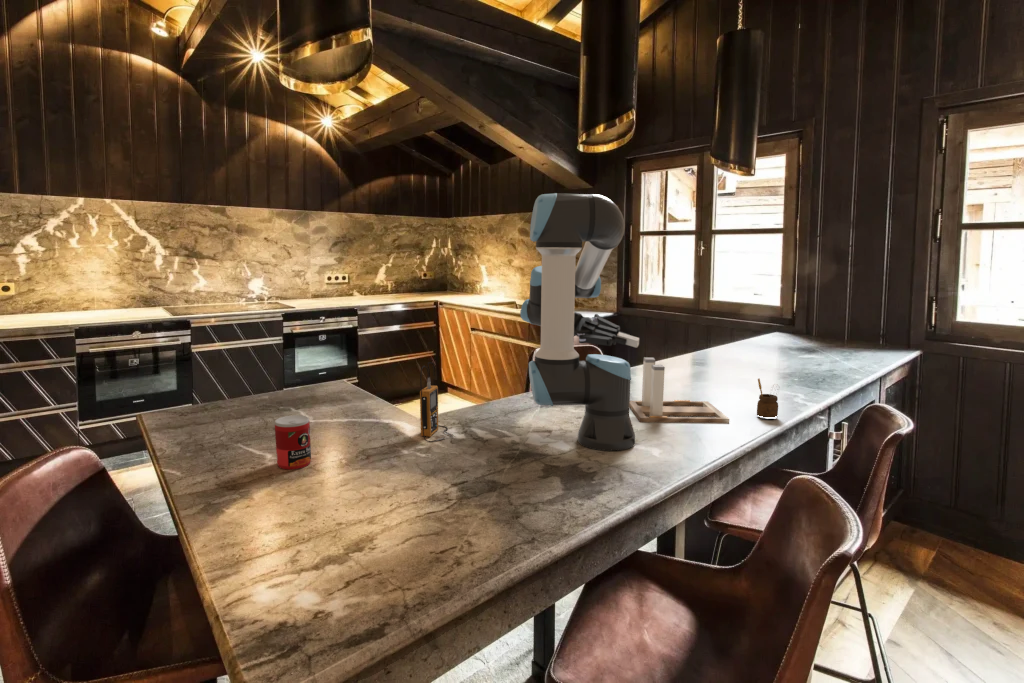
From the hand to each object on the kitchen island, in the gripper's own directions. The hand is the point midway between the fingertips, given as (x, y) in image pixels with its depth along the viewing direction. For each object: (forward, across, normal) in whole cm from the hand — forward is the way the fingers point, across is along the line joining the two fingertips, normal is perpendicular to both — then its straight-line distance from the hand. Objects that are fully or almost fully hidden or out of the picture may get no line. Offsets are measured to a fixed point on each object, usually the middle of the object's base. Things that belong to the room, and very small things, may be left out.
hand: (638, 342), depth 171 cm
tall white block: (+5, +1, -24) cm, 25 cm away
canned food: (-55, +84, +6) cm, 100 cm away
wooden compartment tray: (+15, +2, -23) cm, 27 cm away
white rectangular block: (+11, +10, -18) cm, 23 cm away
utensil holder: (+39, -11, -25) cm, 48 cm away
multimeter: (-37, +51, -8) cm, 64 cm away
